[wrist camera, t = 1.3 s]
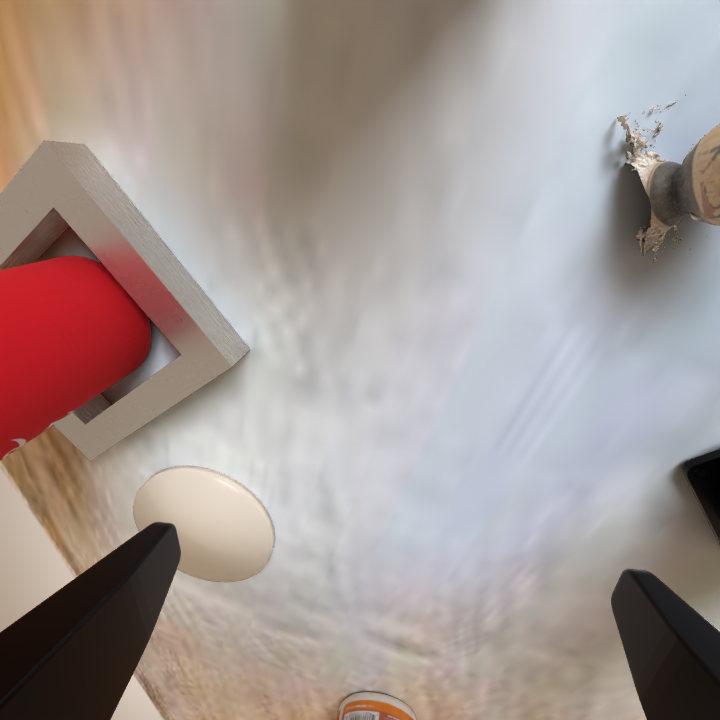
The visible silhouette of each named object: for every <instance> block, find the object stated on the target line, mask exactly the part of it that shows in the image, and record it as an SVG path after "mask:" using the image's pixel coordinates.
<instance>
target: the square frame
mask: <svg viewBox="0 0 720 720" xmlns="http://www.w3.org/2000/svg"><path fill="white" fill-rule="evenodd" d="M69 226H70V227H71V228H72V229H73V230H74V231H75V232H76V234H77V235H78V236H79V237H80V238H81V239H82V240H83V242H84V243H85V244H86V245H87V246H88V247H89V249H90V250H91V251H92V252H93V253H94V254H95V256H96V257H97V258H98V259H99V260H100V261H101V262H102V264H103V265H104V266H105V267H106V268H107V269H108V271H109V272H110V273H111V274H112V275H113V276H114V278H115V279H116V280H117V281H118V282H119V283H120V284H121V286H122V287H123V288H124V289H125V290H126V291H127V293H128V294H129V295H130V296H131V297H132V298H133V299H134V301H135V302H136V303H137V304H138V305H139V306H140V308H141V309H142V310H143V311H144V312H145V313H146V315H147V316H148V317H149V318H150V319H151V320H152V321H153V323H154V324H155V325H156V326H157V327H158V328H159V330H160V331H161V332H162V333H163V334H164V335H165V337H166V338H167V339H168V340H169V341H170V342H171V343H172V345H173V346H174V347H175V348H176V349H177V350H178V352H179V353H180V354H181V356H179V357H178V358H176V359H175V360H174V361H172V362H171V363H170V364H168V365H167V366H165V367H164V368H163V369H161V370H160V371H158V372H157V373H156V374H154V375H153V376H152V377H150V378H149V379H147V380H146V381H145V382H143V383H142V384H141V385H139V386H138V387H136V388H135V389H134V390H132V391H131V392H130V393H128V394H127V395H125V396H124V397H123V398H121V399H120V400H118V401H117V402H116V403H114V404H113V405H112V404H111V403H110V402H109V401H108V400H107V399H106V398H105V397H104V396H103V395H102V394H101V393H100V394H99V395H97V396H96V397H94V398H93V399H91V400H90V401H88V402H87V403H85V404H84V405H82V406H81V407H79V408H78V409H76V410H75V411H73V412H72V413H70V414H69V415H68V416H66V417H65V418H63V419H62V420H60V421H59V422H57V423H56V424H54V426H55V427H56V428H57V429H58V430H59V431H60V432H61V433H62V434H63V435H64V436H65V437H66V438H67V439H68V440H69V441H70V442H71V443H72V444H73V445H74V446H75V447H76V448H77V449H79V450H80V451H81V452H82V453H83V454H84V455H85V456H86V457H87V458H88V459H89V460H90V461H91V460H93V459H94V458H96V457H97V456H99V455H100V454H102V453H103V452H105V451H106V450H108V449H109V448H111V447H112V446H114V445H115V444H117V443H118V442H120V441H121V440H123V439H124V438H126V437H127V436H129V435H130V434H132V433H133V432H135V431H136V430H138V429H139V428H141V427H142V426H144V425H145V424H147V423H148V422H150V421H151V420H153V419H154V418H156V417H157V416H159V415H160V414H162V413H163V412H165V411H166V410H168V409H169V408H171V407H172V406H174V405H175V404H177V403H178V402H180V401H181V400H183V399H184V398H186V397H187V396H189V395H190V394H192V393H193V392H195V391H196V390H198V389H199V388H201V387H202V386H204V385H205V384H207V383H208V382H210V381H211V380H213V379H214V378H216V377H217V376H219V375H220V374H222V373H223V372H225V371H226V370H228V369H229V368H231V367H232V366H233V365H234V364H235V363H236V362H237V361H238V360H240V359H241V358H242V357H243V356H244V355H245V354H246V353H247V352H248V351H249V350H250V349H249V348H248V347H247V346H246V344H245V343H244V342H243V341H242V339H241V338H240V337H239V336H238V334H237V333H236V332H235V331H234V329H233V328H232V327H231V326H230V324H229V323H228V322H227V321H226V319H225V318H224V317H223V316H222V314H221V313H220V312H219V311H218V310H217V308H216V307H215V306H214V305H213V303H212V302H211V301H210V300H209V298H208V297H207V296H206V295H205V293H204V292H203V291H202V290H201V288H200V287H199V286H198V285H197V283H196V282H195V281H194V280H193V279H192V277H191V276H190V275H189V274H188V272H187V271H186V270H185V269H184V267H183V266H182V265H181V264H180V262H179V261H178V260H177V259H176V257H175V256H174V255H173V254H172V252H171V251H170V250H169V249H168V247H167V246H166V245H165V244H164V243H163V241H162V240H161V239H160V238H159V236H158V235H157V234H156V233H155V231H154V230H153V229H152V228H151V226H150V225H149V224H148V223H147V221H146V220H145V219H144V218H143V216H142V215H141V214H140V213H139V212H138V210H137V209H136V208H135V207H134V205H133V204H132V203H131V202H130V200H129V199H128V198H127V197H126V195H125V194H124V193H123V192H122V190H121V189H120V188H119V187H118V185H117V184H116V183H115V182H114V180H113V179H112V178H111V177H110V176H109V174H108V173H107V172H106V171H105V169H104V168H103V167H102V166H101V164H100V163H99V162H98V161H97V159H96V158H95V157H94V156H93V154H92V153H91V152H90V151H89V149H88V148H87V147H86V146H85V145H84V144H77V143H66V142H55V141H45V140H44V141H43V142H42V143H41V145H40V146H39V147H38V148H37V150H36V151H35V152H34V153H33V154H32V156H31V157H30V158H29V159H28V161H27V162H26V163H25V164H24V165H23V167H22V168H21V169H20V170H19V172H18V173H17V174H16V175H15V177H14V178H13V179H12V180H11V181H10V183H9V184H8V185H7V186H6V188H5V189H4V190H3V191H2V192H1V194H0V270H3V269H8V268H12V267H17V266H21V265H26V264H30V263H35V262H36V261H37V260H38V259H39V258H40V257H41V256H42V254H43V253H44V252H45V251H46V250H47V249H48V248H49V247H50V246H51V245H52V244H53V243H54V242H55V241H56V240H57V239H58V238H59V237H60V236H61V235H62V234H63V232H64V231H65V230H66V229H67V228H68V227H69Z"/></svg>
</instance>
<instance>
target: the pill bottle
mask: <svg viewBox="0 0 720 720" xmlns="http://www.w3.org/2000/svg"><path fill="white" fill-rule="evenodd" d="M337 720H417V719H416V717H415V715H414V713H413V712H412V710H411V709H410V708H409V707H408V706H407V705H406V704H405V703H403V702H402V701H400V700H398V699H396V698H394V697H391V696H388V695H385V694H381V693H375V692H360V693H355V694H352V695H350V696H349V697H347V698H346V699H345V700H344V701H343V702H342V703H341V705H340V707H339V710H338V715H337Z"/></svg>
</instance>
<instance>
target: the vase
mask: <svg viewBox="0 0 720 720" xmlns="http://www.w3.org/2000/svg"><path fill="white" fill-rule="evenodd" d="M685 96H686V95H685ZM676 101H677V100H676ZM676 101H675V102H673V103H671V104H669V105H668V106H671V105H672V104H674V103H676ZM657 106H661V105H657ZM656 109H657V108H655V107H654V108H653V109H651V110H652V111H654V110H656ZM664 109H665V108H664ZM658 110H660V108H659V109H658ZM668 110H669V109H668ZM662 111H663V110H662ZM662 111H661V112H662ZM644 112H645V110H644V111H643V113H642V114H644ZM629 114H630V113H629ZM636 114H637V113H636ZM627 116H628V115H627V114H626V115H623V116H620V117H617V119H618V122H622V123H621V126H623V129H624V130H626V129H627V132H628V134H627V133H626V143H628V142H629V141H630V145H631V146H632V147H633V152H634V154H633V155H632V156H631V153H630V152H626V157H627V159H629V160H628V161H627V162H626V163H628V164H632V165H633V166H634V167H635V168H634V169H631V170H632V171H634V170H637V171H638V172H639V176H640V178H641V182H642V183H643V186H644V188H645V191H646V193H647V195H648V196H649V200H650V204H651V221H650V223H651V227H649V228H648V229H647V232H646V231H643V229H642V230H638V232H639V234H638V235H637V236H636V238H637V240H638V239H639V238H640V241H639V240H638V241H639V245H640V247H641V250H640V252H643V257H644V255H645V254H646V251H647V250H649V249H650V248H651V247H652V246H654V249H653V250H652V251H654V252H656V251H658V250H659V248H658V247H659V246H661V244H662V243H663V242H664V241H663V240H664V237H665V234H666V232H667V231H668V230H669V229H670V228H672V227H674V230H673V231H675V230H676V231H678V230H679V229H676V227H678V226H676V225H677V224H678V223H679V222H680V221H681V220H682V219H683V218H684V217H685V216H686V215H687V214H689V215H690V216H691V217H692V219H694V220H699V221H701V222H706V223H709V224H712V225H718V226H720V124H719V125H717V126H716V127H715V128H713V129H712V130H711V131H710V132H709V133H708V134H707V135H704V137H703V138H702V139H700V141H699V142H698V144H697V145H696V146H695V147H694V148H693V150H692V148H691V150H692V151H689V154H687V155H686V157H685V159H684V160H683V163H682V165H680V164H678V163H674V162H670V161H665V160H664V159H663V158H661V157H659V155H658V153H654V152H652V151H649V150H646V149H644V148H647V147H648V146H647V145H646V143H647V142H648V140H649V139H648V140H646V137H641V136H640V135H641V132H637V129H638V127H639V126H640V125H638V123H636V124H637V125H638V127H637V128H635V129H636V131H635V133H632V131H631V129H630V125H629V124H628V123H625V121H626V120H628V118H627ZM635 122H636V119H635ZM656 122H659V121H658V120H656ZM662 127H663V124H662V122H660V125H659V126H658V128H659V131H658V132H656V133H655V134H654V135H653V136H656V135H658V134H659V132H660V131H661V130H662ZM655 129H657V127H656V128H654V130H655ZM644 130H645V128H644V129H643V131H644ZM649 130H650V129H647V132H648V131H649ZM654 130H653V131H654ZM653 131H651V132H653ZM633 132H634V131H633ZM655 142H656V140H655ZM693 145H694V144H693ZM650 146H652V145H650ZM654 147H655V146H654ZM654 147H653V148H654ZM643 149H644V150H646V152H645V153H641V150H643ZM626 163H625V164H626ZM644 228H645V226H644ZM639 229H641V227H639ZM669 231H670V230H669ZM645 232H646V233H645ZM675 234H677V232H676V233H675ZM668 236H670V234H669V235H668ZM675 237H677V238H678V240H676V239H675ZM706 237H707V236H706ZM642 240H645V242H642ZM672 240H673V241H677V242H678V243H681V242H680V241H681V240H682V238H681V239H680V240H679V237H678V236H674V238H673V239H672ZM664 249H665V247H664ZM674 249H675V248H674ZM674 249H673V250H674ZM683 250H685V249H683ZM690 250H691V249H690ZM662 252H663V251H662ZM662 252H661V253H662ZM654 256H657V254H656V253H654ZM650 258H651V257H650ZM656 259H657V257H654V258H653V261H654V263H655V262H658V261H657V260H656Z"/></svg>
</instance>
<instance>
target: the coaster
mask: <svg viewBox="0 0 720 720" xmlns="http://www.w3.org/2000/svg"><path fill="white" fill-rule="evenodd" d="M133 514H134V520H135V523H136V526H137V528H138V531H139V532H140V531H142V530H143V529H144V528H146V527H147V526H149V525H150V524H152V523H154V522H165V523H172V524H174V525H175V527H176V530H177V534H178V539H179V543H180V548H181V558H180V562H179V565H178V567H177V569H178V570H180V571H182V572H184V573H186V574H189V575H191V576H194V577H197V578H200V579H204V580H209V581H216V582H234V581H240V580H243V579H247V578H249V577H251V576H253V575H255V574H256V573H258V572H259V571H260V570H261V569H262V568H263V567H264V566H265V565H266V563H267V562H268V560H269V557H270V555H271V553H272V550H273V548H274V543H275V531H274V526H273V522H272V519H271V517H270V515H269V513H268V511H267V510H266V508H265V507H264V505H263V504H262V503H261V502H260V500H259V499H258V498H257V497H256V496H255V495H254V494H253V493H252V492H251V491H250V490H249V489H247V488H246V487H245V486H244V485H242V484H241V483H239V482H237V481H236V480H234V479H232V478H231V477H229V476H227V475H225V474H222V473H220V472H217V471H214V470H211V469H208V468H203V467H198V466H175V467H170V468H167V469H163V470H161V471H159V472H157V473H156V474H154V475H153V476H151V477H150V478H149V479H148V480H147V482H146V483H145V484H144V485H143V486H142V487H141V488H140V489H139V491H138V493H137V494H136V497H135V500H134V505H133Z"/></svg>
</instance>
